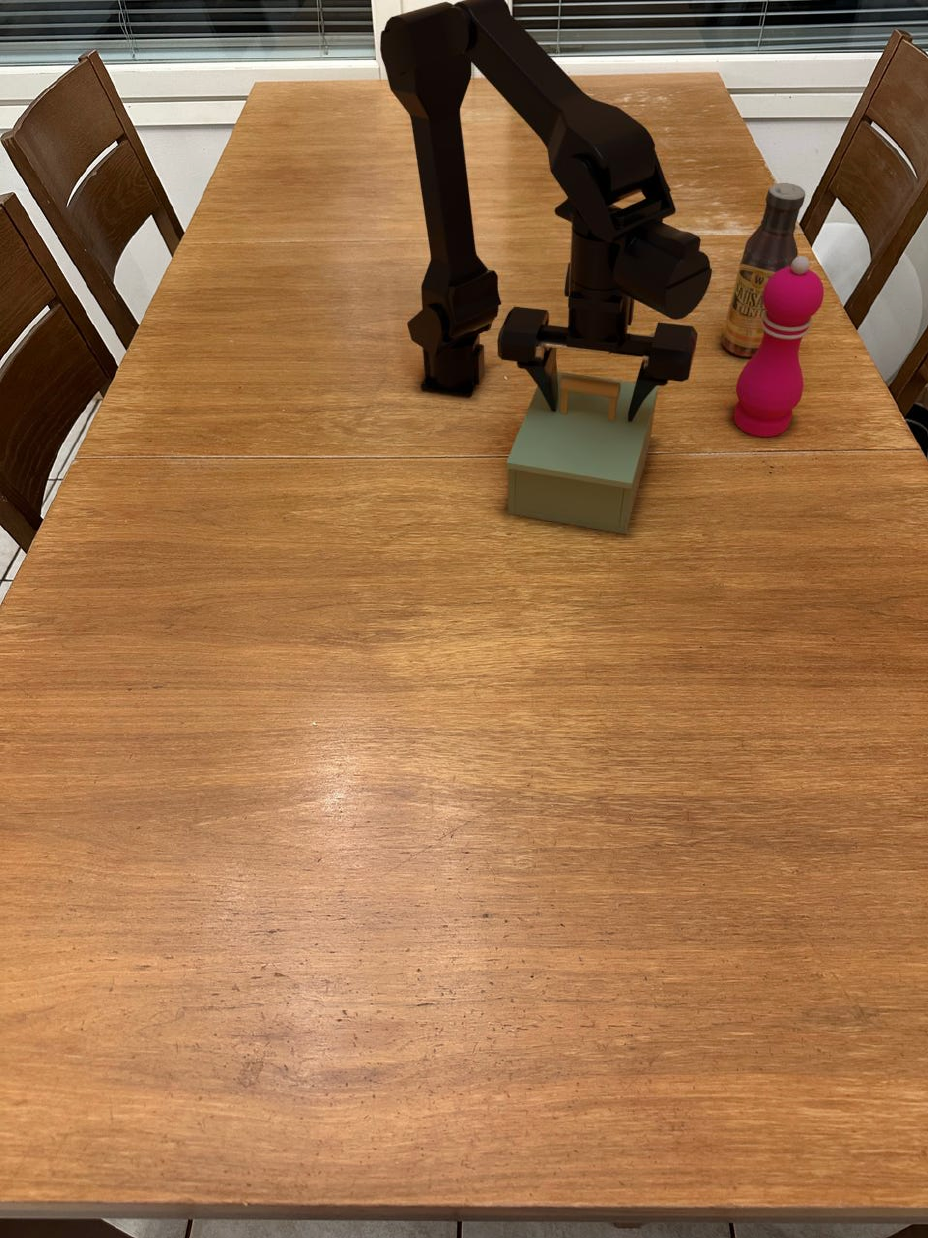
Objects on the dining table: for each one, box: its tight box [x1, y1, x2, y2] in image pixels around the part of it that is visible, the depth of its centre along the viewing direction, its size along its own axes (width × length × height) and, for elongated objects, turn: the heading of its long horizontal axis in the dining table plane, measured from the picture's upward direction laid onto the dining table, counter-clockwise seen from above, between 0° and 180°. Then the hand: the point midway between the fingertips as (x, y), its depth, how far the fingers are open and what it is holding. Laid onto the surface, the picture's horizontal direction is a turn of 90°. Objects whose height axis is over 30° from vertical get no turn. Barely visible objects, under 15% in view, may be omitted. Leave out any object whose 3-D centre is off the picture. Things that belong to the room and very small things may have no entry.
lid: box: [505, 371, 659, 489], centre depth 96 cm, size 16×13×5 cm
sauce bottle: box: [721, 182, 806, 358], centre depth 112 cm, size 6×6×20 cm
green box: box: [507, 395, 658, 535], centre depth 101 cm, size 16×13×7 cm
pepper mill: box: [733, 255, 825, 438], centre depth 102 cm, size 7×7×20 cm
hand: (592, 414), depth 98 cm, fingers open, 8 cm apart
